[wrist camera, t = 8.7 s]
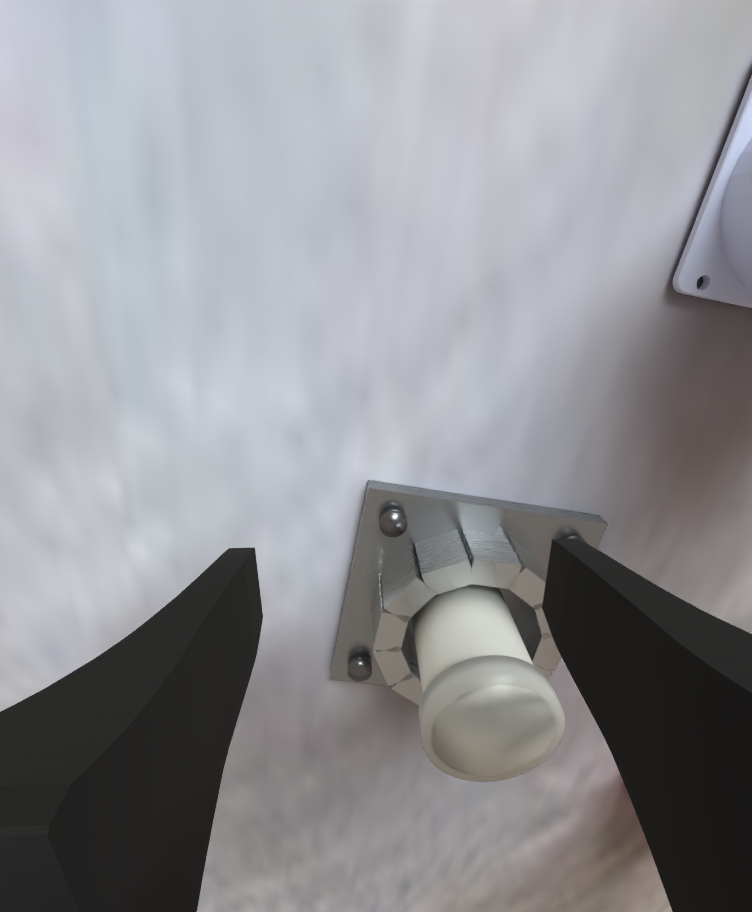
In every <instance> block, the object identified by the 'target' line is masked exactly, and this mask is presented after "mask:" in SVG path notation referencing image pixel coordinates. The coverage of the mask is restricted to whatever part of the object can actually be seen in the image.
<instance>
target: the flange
mask: <svg viewBox="0 0 752 912" xmlns="http://www.w3.org/2000/svg"><path fill="white" fill-rule="evenodd" d="M606 526H607V523H606V522H605V521H604V520H603V519H602V518H601V517H600V516H599V515H593V514H586V513H580V512H573V511H567V510H560V509H554V508H547V507H541V506H534V505H528V504H521V503H515V502H508V501H502V500H495V499H489V498H482V497H475V496H469V495H462V494H456V493H449V492H443V491H436V490H430V489H423V488H417V487H410V486H404V485H397V484H391V483H384V482H378V481H371V480H368V485H367V490H366V495H365V500H364V505H363V510H362V515H361V520H360V525H359V530H358V535H357V540H356V545H355V550H354V555H353V560H352V565H351V570H350V575H349V580H348V585H347V590H346V595H345V600H344V605H343V610H342V615H341V620H340V625H339V630H338V635H337V640H336V645H335V650H334V655H333V660H332V665H331V675H330V680H339V681H348V682H357V683H367V684H376V685H385V686H391V689H392V690H394V691H395V692H397V693H399V694H400V695H402V696H404V697H405V698H407V699H408V700H410V701H412V702H413V703H415V704H416V705H418V706H419V703H420V699H421V697H422V695H423V690H422V684H421V678H420V671H419V665H418V659H417V652H416V646H415V640H414V633H413V627H412V621H411V617H412V616H413V615H414V614H415V613H416V612H417V611H419V610H420V609H421V608H422V607H423V606H424V605H425V604H426V603H427V602H428V601H429V600H430V599H431V598H432V597H433V596H435V595H438V594H441V593H444V592H448V591H451V590H454V589H457V588H460V587H464V586H467V585H470V584H475V585H482V586H490V587H497V588H500V590H501V593H502V595H503V597H504V600H505V602H506V604H507V606H508V609H509V611H510V613H511V615H512V618H513V620H514V622H515V624H516V627H517V629H518V631H519V634H520V636H521V638H522V640H523V643H524V645H525V647H526V649H527V652H528V654H529V656H530V658H531V661H532V663H533V665H534V666H536V667H537V668H538V669H540V670H541V671H542V672H543V673H544V674H545V675H546V677H547V678H548V677H549V676H551V675H552V673H551V671H550V670H555V669H556V667H557V665H558V662H559V660H560V658H561V655H560V653H559V651H558V649H557V647H556V645H555V642H554V639H553V637H552V634H551V632H550V629H549V626H548V623H547V621H546V618H545V615H544V612H543V609H542V604H543V597H544V590H545V584H546V577H547V570H548V563H549V556H550V550H551V543H552V539H579V540H581V541H583V542H585V543H587V544H588V545H590V546H592V547H594V548H595V549H597V548H598V546H599V543H600V541H601V538H602V536H603V533H604V531H605V529H606Z"/></svg>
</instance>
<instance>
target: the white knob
mask: <svg viewBox="0 0 752 912" xmlns="http://www.w3.org/2000/svg"><path fill="white" fill-rule="evenodd" d="M411 621H412V627H413V633H414V640H415V646H416V652H417V659H418V665H419V671H420V678H421V684H422V690H423V695H422V697H421V699H420V703H419V708H418V717H419V724H420V732H421V739H422V744H423V749H424V751H425V753H426V755H427V757H428V758H429V760H430V761H431V762H432V763H433V764H434V765H435V766H436V767H437V768H439V769H440V770H441V771H443V772H445V773H447V774H449V775H451V776H453V777H456V778H460V779H463V780H469V781H478V782H489V781H498V780H504V779H508V778H512V777H515V776H518V775H521V774H523V773H525V772H527V771H530V770H531V769H533V768H535V767H536V766H538V765H539V764H541V763H542V762H543V761H545V760H546V759H547V758H548V757H549V756H550V755H551V754H552V753H553V752H554V751H555V749H556V748H557V746H558V745H559V743H560V741H561V739H562V737H563V733H564V730H565V716H564V712H563V709H562V707H561V705H560V703H559V700H558V698H557V696H556V694H555V692H554V690H553V687H552V685H551V683H550V681H549V679H548V678H547V677H546V675H545V674H544V673H543V672H542V671H541V670H540V669H538V668H537V667H536V666H534V665H533V663H532V661H531V658H530V656H529V654H528V652H527V649H526V647H525V645H524V643H523V640H522V638H521V636H520V634H519V631H518V629H517V627H516V624H515V622H514V620H513V618H512V615H511V613H510V611H509V609H508V606H507V604H506V602H505V600H504V597H503V595H502V593H501V590H500V588H497V587H490V586H482V585H475V584H470V585H467V586H464V587H460V588H457V589H454V590H451V591H448V592H444V593H441V594H438V595H435V596H433V597H432V598H431V599H430V600H429V601H428V602H427V603H426V604H425V605H424V606H423V607H422V608H421V609H420V610H419V611H417V612H416V613H415V614H414V615H413V616H412V617H411Z"/></svg>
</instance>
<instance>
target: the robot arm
mask: <svg viewBox="0 0 752 912" xmlns="http://www.w3.org/2000/svg"><path fill="white" fill-rule="evenodd" d="M701 276H702V277H703V284H702V285H701V287H700V288H697V286H696V283H697V280H698V279H699V278H700V277H701ZM672 283H673V288H674V289H675V290H676V291H677V292H679V293H682V294H687V295H691V296H696V297H701V298H706V299H710V300H715V301H720V302H725V303H729V304H734V305H739V306H744V307H749V308H752V76H751V78H750V81H749V84H748V86H747V89H746V91H745V94H744V97H743V99H742V102H741V104H740V107H739V109H738V112H737V115H736V117H735V120H734V122H733V125H732V128H731V130H730V133H729V135H728V138H727V140H726V143H725V146H724V148H723V151H722V153H721V156H720V159H719V161H718V164H717V166H716V169H715V171H714V174H713V177H712V179H711V182H710V184H709V187H708V190H707V192H706V195H705V197H704V200H703V202H702V205H701V208H700V210H699V213H698V215H697V218H696V221H695V223H694V226H693V228H692V231H691V233H690V236H689V239H688V241H687V244H686V246H685V249H684V252H683V254H682V257H681V259H680V262H679V264H678V267H677V270H676V272H675V275H674V277H673V282H672ZM542 609H543V612H544V615H545V618H546V621H547V623H548V626H549V629H550V632H551V634H552V637H553V639H554V642H555V645H556V647H557V649H558V651H559V653H560V655H561V657H562V658H563V660H564V662H565V664H566V666H567V668H568V670H569V672H570V674H571V676H572V678H573V679H574V681H575V683H576V685H577V687H578V689H579V691H580V693H581V694H582V696H583V698H584V700H585V702H586V704H587V706H588V707H589V709H590V711H591V713H592V715H593V717H594V719H595V721H596V722H597V724H598V726H599V728H600V730H601V732H602V734H603V736H604V738H605V740H606V742H607V744H608V746H609V748H610V751H611V753H612V755H613V757H614V760H615V762H616V765H617V767H618V769H619V772H620V774H621V777H622V779H623V781H624V784H625V786H626V789H627V791H628V794H629V796H630V798H631V801H632V803H633V806H634V809H635V811H636V814H637V816H638V819H639V822H640V824H641V827H642V829H643V832H644V834H645V837H646V840H647V842H648V845H649V847H650V850H651V853H652V855H653V858H654V861H655V864H656V866H657V869H658V872H659V875H660V878H661V880H662V883H663V886H664V889H665V891H666V894H667V897H668V900H669V903H670V905H671V908H672V911H673V912H752V634H750V633H748V632H746V631H744V630H742V629H740V628H737V627H735V626H733V625H731V624H729V623H727V622H725V621H722V620H720V619H718V618H716V617H714V616H712V615H710V614H708V613H706V612H704V611H702V610H700V609H698V608H696V607H695V606H693V605H691V604H689V603H687V602H685V601H684V600H682V599H680V598H678V597H676V596H674V595H672V594H671V593H669V592H667V591H665V590H664V589H662V588H660V587H658V586H657V585H655V584H653V583H652V582H650V581H648V580H646V579H645V578H643V577H641V576H640V575H638V574H636V573H635V572H633V571H632V570H630V569H628V568H627V567H625V566H623V565H622V564H620V563H618V562H617V561H615V560H614V559H612V558H610V557H609V556H607V555H605V554H604V553H602V552H600V551H599V550H597V549H595V548H594V547H592V546H590V545H588V544H587V543H585V542H583V541H581V540H579V539H552V543H551V550H550V556H549V563H548V570H547V577H546V584H545V590H544V597H543V604H542ZM262 619H263V614H262V606H261V597H260V589H259V580H258V572H257V563H256V555H255V548H229V549H228V550H227V551H226V552H224V553H223V554H222V555H221V556H220V557H219V558H218V559H217V560H216V561H215V562H214V563H213V564H212V565H211V566H209V567H208V568H207V569H206V570H205V571H204V572H203V573H202V574H201V575H200V576H199V577H198V578H197V579H196V580H195V581H193V582H192V583H191V584H190V585H189V586H188V587H187V588H186V589H185V590H184V591H182V592H181V593H180V594H179V595H178V596H177V597H176V598H175V599H173V600H172V601H171V602H170V603H168V604H167V605H166V606H165V607H164V608H162V609H161V610H160V611H159V612H158V613H156V614H155V615H154V616H153V617H151V618H150V619H149V620H148V621H147V622H145V623H144V624H143V625H142V626H140V627H139V628H138V629H136V630H135V631H134V632H132V633H131V634H130V635H128V636H127V637H126V638H124V639H123V640H121V641H120V642H118V643H117V644H116V645H114V646H113V647H111V648H110V649H108V650H107V651H105V652H104V653H102V654H101V655H99V656H98V657H96V658H95V659H93V660H92V661H90V662H88V663H87V664H85V665H83V666H82V667H80V668H78V669H77V670H75V671H73V672H72V673H70V674H68V675H67V676H65V677H63V678H62V679H60V680H58V681H57V682H55V683H53V684H52V685H50V686H48V687H47V688H45V689H43V690H41V691H40V692H38V693H36V694H34V695H32V696H30V697H28V698H26V699H25V700H23V701H21V702H19V703H17V704H15V705H13V706H11V707H9V708H7V709H5V710H3V711H1V712H0V912H197V907H198V901H199V895H200V889H201V883H202V877H203V872H204V866H205V861H206V856H207V850H208V845H209V840H210V834H211V829H212V823H213V818H214V813H215V808H216V803H217V798H218V793H219V788H220V783H221V778H222V773H223V769H224V765H225V761H226V757H227V753H228V749H229V746H230V742H231V739H232V736H233V732H234V729H235V726H236V722H237V719H238V716H239V712H240V709H241V706H242V703H243V699H244V696H245V693H246V689H247V686H248V683H249V679H250V676H251V672H252V669H253V666H254V662H255V659H256V655H257V649H258V644H259V638H260V632H261V625H262Z"/></svg>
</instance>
